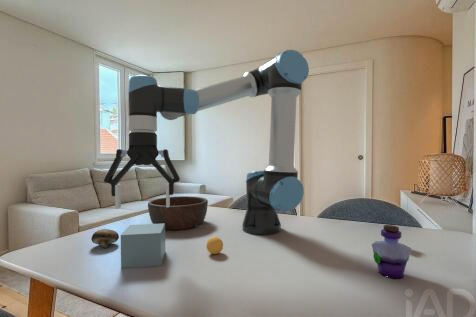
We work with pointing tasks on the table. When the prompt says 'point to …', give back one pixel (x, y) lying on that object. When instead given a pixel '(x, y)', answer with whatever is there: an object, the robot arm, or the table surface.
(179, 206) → the wooden bowl
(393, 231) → the potion bottle
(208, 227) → the table surface
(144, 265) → the smooth grey cuboid
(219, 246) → the ball
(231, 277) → the table surface
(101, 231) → the mushroom
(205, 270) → the table surface
